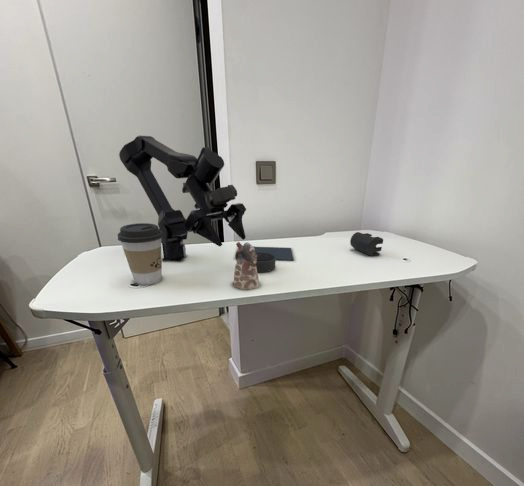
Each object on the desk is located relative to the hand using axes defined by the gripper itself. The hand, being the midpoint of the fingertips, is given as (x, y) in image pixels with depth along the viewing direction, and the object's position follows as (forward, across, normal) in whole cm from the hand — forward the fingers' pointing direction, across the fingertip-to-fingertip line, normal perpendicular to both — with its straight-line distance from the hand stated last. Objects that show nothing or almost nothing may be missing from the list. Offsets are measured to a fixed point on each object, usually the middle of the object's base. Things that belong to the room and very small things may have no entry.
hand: (233, 242), depth 79 cm
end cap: (+21, +52, -5) cm, 57 cm away
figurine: (+11, 0, +5) cm, 12 cm away
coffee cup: (-5, -16, +21) cm, 27 cm away
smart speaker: (+8, +13, +8) cm, 17 cm away
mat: (+2, +25, +14) cm, 29 cm away
